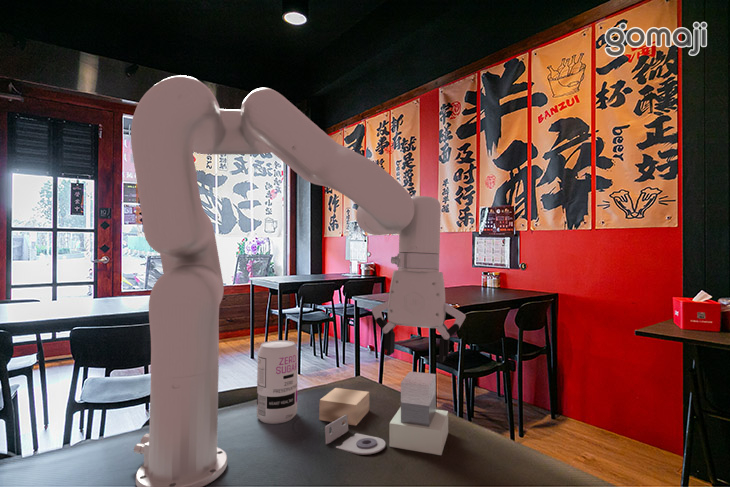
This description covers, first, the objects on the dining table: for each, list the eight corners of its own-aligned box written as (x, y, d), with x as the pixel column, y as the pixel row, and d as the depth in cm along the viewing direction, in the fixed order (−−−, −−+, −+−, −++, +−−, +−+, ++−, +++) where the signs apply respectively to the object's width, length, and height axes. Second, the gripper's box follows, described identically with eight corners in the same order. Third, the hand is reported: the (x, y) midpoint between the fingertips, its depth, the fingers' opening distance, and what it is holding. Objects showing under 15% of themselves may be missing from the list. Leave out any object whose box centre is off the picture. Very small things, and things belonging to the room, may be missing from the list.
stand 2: (389, 446, 67) (389, 423, 67) (401, 425, 76) (401, 405, 76) (441, 455, 64) (441, 430, 64) (448, 432, 73) (448, 411, 73)
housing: (409, 408, 74) (409, 371, 74) (435, 411, 72) (435, 374, 73) (400, 422, 68) (400, 382, 68) (429, 426, 66) (429, 385, 66)
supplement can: (269, 407, 85) (270, 338, 85) (303, 411, 83) (304, 341, 83) (248, 422, 77) (249, 346, 78) (285, 427, 75) (286, 349, 75)
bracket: (372, 462, 63) (372, 440, 63) (324, 446, 68) (324, 426, 68) (392, 445, 68) (392, 426, 68) (346, 432, 74) (346, 414, 74)
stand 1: (319, 419, 78) (319, 399, 78) (335, 405, 86) (335, 387, 86) (356, 425, 76) (356, 404, 76) (369, 410, 83) (369, 391, 83)
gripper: (368, 261, 71) (364, 356, 70) (464, 265, 65) (462, 368, 64) (380, 262, 78) (376, 348, 77) (468, 265, 72) (466, 358, 71)
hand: (415, 357), depth 70 cm, fingers open, 9 cm apart
